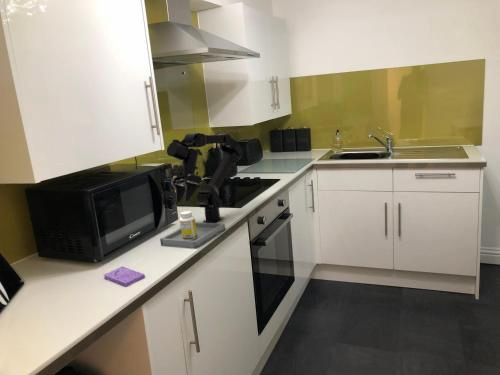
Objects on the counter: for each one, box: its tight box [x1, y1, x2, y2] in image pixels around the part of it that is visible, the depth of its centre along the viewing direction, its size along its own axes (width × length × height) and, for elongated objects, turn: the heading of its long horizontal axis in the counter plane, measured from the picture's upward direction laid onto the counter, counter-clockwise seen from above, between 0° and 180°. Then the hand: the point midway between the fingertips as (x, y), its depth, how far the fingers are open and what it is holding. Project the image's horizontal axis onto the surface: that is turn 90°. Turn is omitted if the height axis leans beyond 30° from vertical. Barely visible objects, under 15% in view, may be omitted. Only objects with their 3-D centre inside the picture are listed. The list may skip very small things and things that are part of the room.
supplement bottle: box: [179, 210, 197, 240], centre depth 153 cm, size 6×6×10 cm
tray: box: [159, 221, 226, 249], centre depth 158 cm, size 20×16×2 cm
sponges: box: [103, 265, 146, 287], centre depth 128 cm, size 7×13×2 cm, turn 49°
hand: (181, 201), depth 161 cm, fingers open, 9 cm apart
